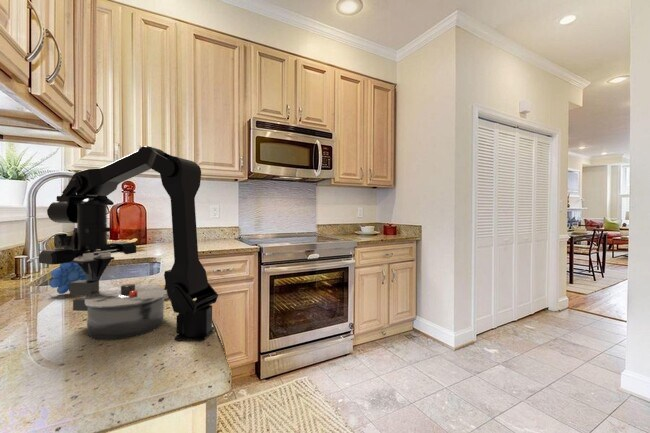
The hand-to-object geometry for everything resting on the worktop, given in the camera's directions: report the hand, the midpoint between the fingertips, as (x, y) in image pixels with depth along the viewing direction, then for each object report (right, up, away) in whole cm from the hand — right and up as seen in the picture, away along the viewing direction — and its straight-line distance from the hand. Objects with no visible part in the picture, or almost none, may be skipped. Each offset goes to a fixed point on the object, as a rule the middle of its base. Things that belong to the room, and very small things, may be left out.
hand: (93, 286), depth 73 cm
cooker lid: (+8, -2, -3) cm, 9 cm away
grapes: (-26, -8, +25) cm, 37 cm away
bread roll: (+4, -9, +22) cm, 24 cm away
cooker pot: (+8, -9, -3) cm, 12 cm away
